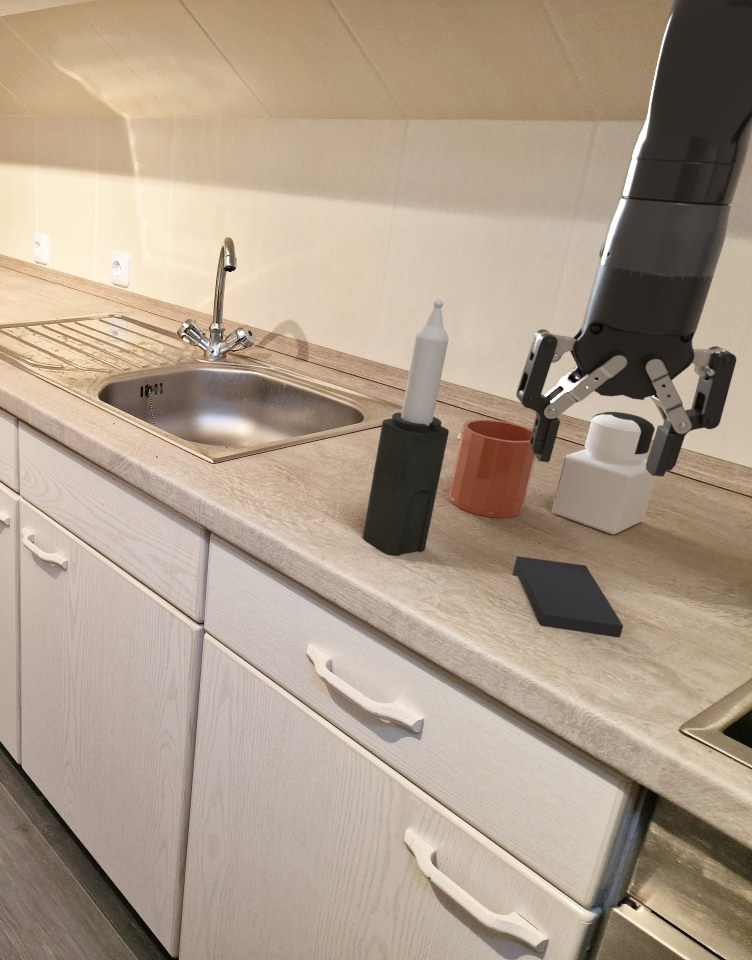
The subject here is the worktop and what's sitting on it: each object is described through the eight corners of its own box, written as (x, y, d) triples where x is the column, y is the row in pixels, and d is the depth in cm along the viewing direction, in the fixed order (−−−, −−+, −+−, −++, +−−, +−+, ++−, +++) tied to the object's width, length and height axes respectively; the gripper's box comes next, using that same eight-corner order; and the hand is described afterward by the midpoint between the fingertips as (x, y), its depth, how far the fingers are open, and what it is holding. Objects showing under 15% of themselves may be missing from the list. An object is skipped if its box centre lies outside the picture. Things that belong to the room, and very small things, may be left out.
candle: (396, 529, 91) (440, 294, 82) (430, 550, 87) (480, 303, 77) (357, 535, 89) (398, 295, 80) (390, 556, 85) (437, 305, 75)
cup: (514, 495, 102) (531, 424, 98) (528, 522, 95) (547, 445, 91) (444, 487, 103) (458, 416, 100) (453, 512, 96) (469, 437, 93)
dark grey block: (578, 593, 79) (586, 565, 78) (614, 657, 69) (623, 625, 68) (509, 584, 81) (516, 555, 79) (535, 645, 71) (543, 614, 69)
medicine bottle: (580, 500, 101) (606, 403, 97) (643, 522, 96) (674, 420, 92) (549, 513, 97) (575, 412, 93) (614, 536, 92) (644, 431, 87)
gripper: (566, 262, 62) (513, 470, 68) (787, 280, 59) (712, 495, 65) (542, 250, 68) (496, 440, 74) (739, 266, 66) (675, 462, 72)
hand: (597, 466), depth 70 cm, fingers open, 8 cm apart
